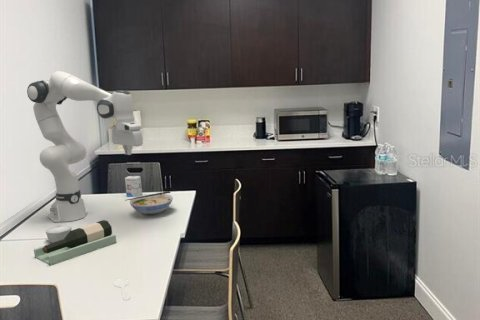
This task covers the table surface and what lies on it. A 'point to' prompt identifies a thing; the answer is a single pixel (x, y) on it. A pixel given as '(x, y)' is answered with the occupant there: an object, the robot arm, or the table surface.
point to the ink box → (133, 186)
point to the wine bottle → (81, 236)
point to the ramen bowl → (151, 203)
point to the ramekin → (58, 232)
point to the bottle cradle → (72, 250)
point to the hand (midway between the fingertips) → (128, 154)
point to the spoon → (122, 287)
